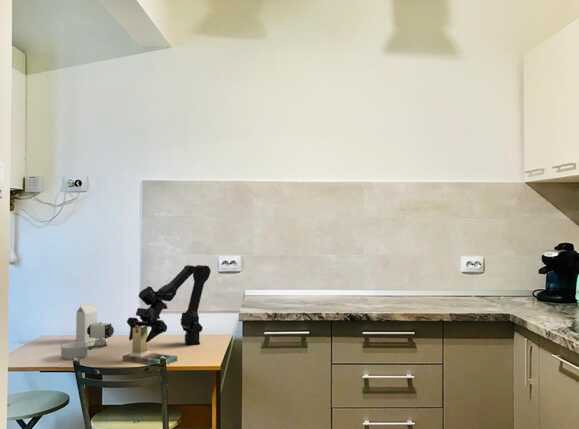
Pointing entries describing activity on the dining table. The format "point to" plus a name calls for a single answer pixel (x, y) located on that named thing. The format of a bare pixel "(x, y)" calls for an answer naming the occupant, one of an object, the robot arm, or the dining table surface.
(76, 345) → the saucepan
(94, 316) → the milk carton
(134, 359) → the divided tray
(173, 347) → the dining table surface
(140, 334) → the brass clip
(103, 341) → the pneumatic valve
